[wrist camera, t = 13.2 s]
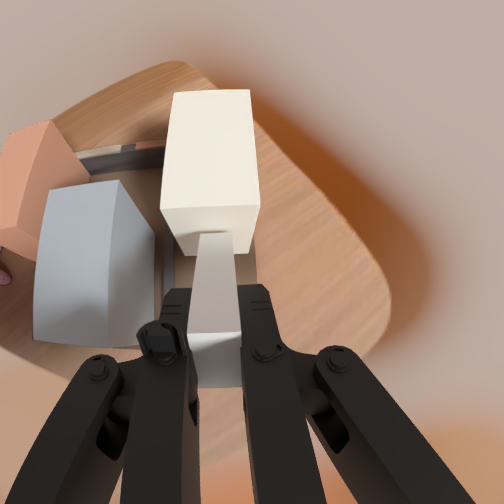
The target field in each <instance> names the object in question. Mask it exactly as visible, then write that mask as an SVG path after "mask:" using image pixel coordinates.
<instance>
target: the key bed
mask: <svg viewBox="0 0 504 504" xmlns="http://www.w3.org/2000/svg"><path fill="white" fill-rule="evenodd" d="M166 142H167V139H160V140H150V141H142V142H136V144H132V145H125V146H122V145H121V144H120V145H113V146H107V147H101V148H96V149H90V150H85V151H80V152H75V153H74V154H75V155H76V156H77V158H78V159H79V160H80V162H81V163H82V164H83V166H84V167H85V168H86V170H87V171H88V172H89V174H90V180H89V183H96V182H103V181H111V180H119V181H120V182H121V184H122V185H123V187H124V188H125V190H126V191H127V193H128V194H129V196H130V198H131V199H132V201H133V202H134V204H135V205H136V207H137V208H138V210H139V211H140V213H141V214H142V215H143V217H144V218H145V220H146V221H147V223H148V224H149V226H150V227H151V229H152V230H153V231H154V233H155V252H154V320H159V316H160V312H161V307H162V304H163V300H164V296H165V295H166V294H167V293H168V292H169V290H170V289H171V288H192V287H193V280H194V273H195V266H196V259H197V256H185V255H184V253H183V251H182V250H181V248H180V246H179V244H178V242H177V240H176V239H175V237H174V235H173V233H172V231H171V229H170V227H169V226H168V224H167V222H166V220H165V218H164V216H163V214H162V212H161V210H160V200H161V188H162V177H163V167H164V158H165V150H166ZM234 262H235V273H236V283H237V285H247V284H257V272H256V258H255V244H254V233H253V237H252V241H251V245H250V249H249V253H248V254H234ZM35 271H36V263H35ZM35 271H34V283H35ZM34 283H33V300H34ZM32 339H33V301H32ZM116 348H117V349H137V350H141V348H140V345H134V346H125V347H116Z"/></svg>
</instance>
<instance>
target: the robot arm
mask: <svg viewBox="0 0 504 504" xmlns="http://www.w3.org/2000/svg"><path fill="white" fill-rule="evenodd" d="M136 337H137V340H138V343H139V345H140V348H141V351H142V353H143V356H141V357H139V358H137V359H134V360H130V361H126V362H121V363H117V362H116V360H115V359H114V358H112V357H111V356H109V355H103V354H100V355H95V356H92V357H90V358H89V359H87V360H86V361H85V362H84V363H83V364H82V365H81V367H80V368H79V370H78V371H77V373H76V374H75V376H74V377H73V379H72V380H71V382H70V383H69V385H68V387H67V388H66V390H65V391H64V393H63V394H62V396H61V398H60V399H59V401H58V402H57V404H56V406H55V407H54V409H53V411H52V412H51V414H50V416H49V417H48V419H47V421H46V423H45V424H44V426H43V428H42V429H41V431H40V433H39V435H38V436H37V438H36V440H35V442H34V444H33V446H32V448H31V449H30V451H29V453H28V455H27V457H26V459H25V461H24V463H23V465H22V467H21V469H20V471H19V473H18V475H17V477H16V479H15V481H14V483H13V485H12V488H11V490H10V492H9V494H8V497H7V499H6V502H5V504H109V502H110V499H111V496H112V494H113V491H114V489H115V486H116V484H117V481H118V479H119V476H120V474H121V471H122V469H123V475H122V484H121V496H120V504H201V497H200V464H199V398H198V394H197V389H198V386H199V388H230V387H242V389H243V407H244V413H245V423H246V433H247V442H248V451H249V460H250V469H251V477H252V486H253V494H254V502H255V504H327V502H326V498H325V494H324V490H323V486H322V482H321V478H320V473H319V469H318V466H317V461H316V457H315V453H314V449H313V445H312V441H311V438H310V433H309V429H308V425H307V421H306V418H307V420H308V422H309V424H310V426H311V427H312V429H313V431H314V432H315V434H316V436H317V437H318V439H319V441H320V443H321V444H322V446H323V448H324V449H325V451H326V452H327V454H328V456H329V457H330V459H331V461H332V463H333V464H334V466H335V467H336V469H337V471H338V472H339V474H340V476H341V477H342V479H343V480H344V482H345V483H346V485H347V487H348V488H349V490H350V491H351V493H352V495H353V496H354V498H355V499H356V501H357V502H358V504H476V503H475V502H474V501H473V500H472V498H471V497H470V496H469V494H468V493H467V492H466V490H465V489H464V488H463V486H462V485H461V484H460V483H459V481H458V480H457V479H456V477H455V476H454V475H453V473H452V472H451V471H450V470H449V468H448V467H447V466H446V465H445V463H444V462H443V461H442V459H441V458H440V457H439V456H438V454H437V453H436V452H435V450H434V449H433V448H432V447H431V445H430V444H429V443H428V442H427V440H426V439H425V438H424V436H423V435H422V434H421V433H420V431H419V430H418V429H417V428H416V426H414V424H413V423H412V422H411V420H410V419H409V418H408V417H407V415H406V414H405V413H404V412H403V410H402V409H401V408H400V407H399V405H398V404H397V403H396V402H395V400H394V399H393V398H392V397H391V395H390V394H389V393H388V392H387V391H386V390H385V388H384V387H383V386H382V384H381V383H380V382H379V381H378V380H377V378H376V377H375V376H374V375H373V373H372V372H371V371H370V370H369V369H368V367H367V366H366V365H365V364H364V363H363V361H362V360H361V359H360V358H359V356H358V355H357V354H356V353H355V352H353V351H352V350H351V349H349V348H346V347H344V346H336V345H334V346H328V347H326V348H324V349H322V350H320V352H319V353H318V355H312V354H304V353H299V352H296V351H294V350H291V349H290V348H288V347H287V346H286V345H285V344H284V343H283V342H282V340H281V338H280V334H279V330H278V326H277V322H276V318H275V314H274V310H273V307H272V303H271V299H270V295H269V291H268V290H267V289H266V288H265V287H264V286H263V285H262V284H247V285H237V283H236V273H235V262H234V250H233V239H232V232H231V233H207V234H200V240H199V246H198V253H197V259H196V266H195V273H194V280H193V287H192V288H171V289H170V290H169V292H168V293H167V294H166V295H165V296H164V300H163V304H162V307H161V312H160V316H159V320H154V321H151V322H149V323H146V324H145V325H143V326H142V327H141V328H140V329H139V330H138V332H137V334H136Z"/></svg>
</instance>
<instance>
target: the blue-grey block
mask: <svg viewBox="0 0 504 504" xmlns="http://www.w3.org/2000/svg"><path fill="white" fill-rule="evenodd" d="M154 252H155V233H154V231H153V230H152V229H151V227H150V226H149V224H148V223H147V221H146V220H145V218H144V217H143V215H142V214H141V213H140V211H139V210H138V208H137V207H136V205H135V204H134V202H133V201H132V199H131V198H130V196H129V194H128V193H127V191H126V190H125V188H124V187H123V185H122V184H121V182H120V181H119V180H111V181H103V182H96V183H89V184H82V185H76V186H70V187H64V188H58V189H53V190H49V194H48V198H47V203H46V207H45V212H44V217H43V222H42V227H41V233H40V239H39V246H38V253H37V261H36V271H35V283H34V300H33V340H38V341H45V342H52V343H60V344H68V345H77V346H88V347H99V348H116V347H125V346H134V345H139V343H138V340H137V337H136V334H137V332H138V330H139V329H140V328H141V327H142V326H143V325H145V324H146V323H149V322H151V321H154Z"/></svg>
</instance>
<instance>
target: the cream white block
mask: <svg viewBox="0 0 504 504" xmlns="http://www.w3.org/2000/svg"><path fill="white" fill-rule="evenodd" d="M259 208H260V194H259V183H258V172H257V161H256V150H255V140H254V129H253V119H252V109H251V99H250V90H204V91H189V92H177V93H174V97H173V103H172V109H171V115H170V121H169V128H168V135H167V142H166V150H165V158H164V167H163V177H162V188H161V200H160V210H161V212H162V214H163V216H164V218H165V220H166V222H167V224H168V226H169V227H170V229H171V231H172V233H173V235H174V237H175V239H176V240H177V242H178V244H179V246H180V248H181V250H182V251H183V253H184V255H185V256H197V253H198V246H199V240H200V234H207V233H231V232H232V239H233V250H234V254H248V253H249V249H250V245H251V241H252V237H253V233H254V228H255V224H256V220H257V216H258V212H259Z"/></svg>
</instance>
